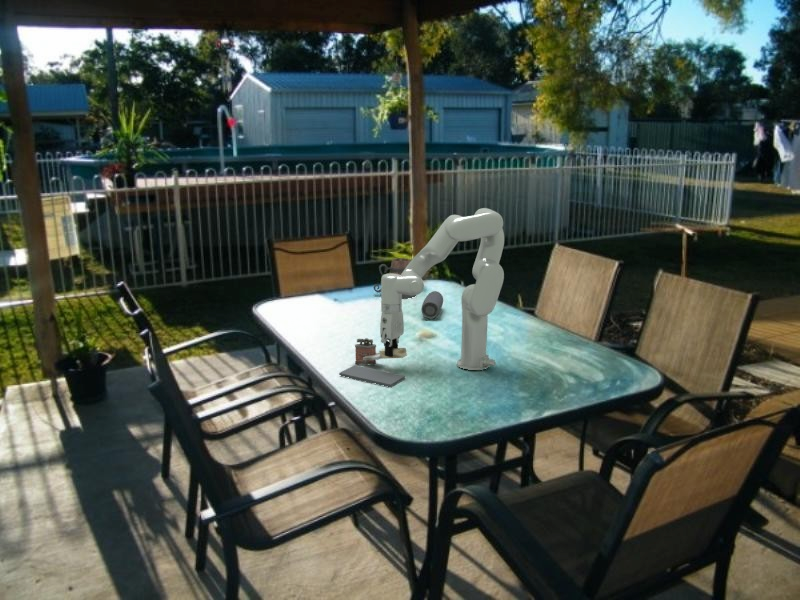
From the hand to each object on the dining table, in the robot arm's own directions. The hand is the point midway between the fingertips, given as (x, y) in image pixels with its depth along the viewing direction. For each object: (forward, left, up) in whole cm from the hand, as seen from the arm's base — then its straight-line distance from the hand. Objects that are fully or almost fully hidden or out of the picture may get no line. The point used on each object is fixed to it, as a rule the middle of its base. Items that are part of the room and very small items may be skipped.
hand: (391, 354), depth 250 cm
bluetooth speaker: (+24, -77, -6) cm, 81 cm away
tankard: (+60, -101, -6) cm, 117 cm away
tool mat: (+2, +11, -6) cm, 13 cm away
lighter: (+12, 0, -6) cm, 13 cm away
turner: (+2, 0, -1) cm, 2 cm away
